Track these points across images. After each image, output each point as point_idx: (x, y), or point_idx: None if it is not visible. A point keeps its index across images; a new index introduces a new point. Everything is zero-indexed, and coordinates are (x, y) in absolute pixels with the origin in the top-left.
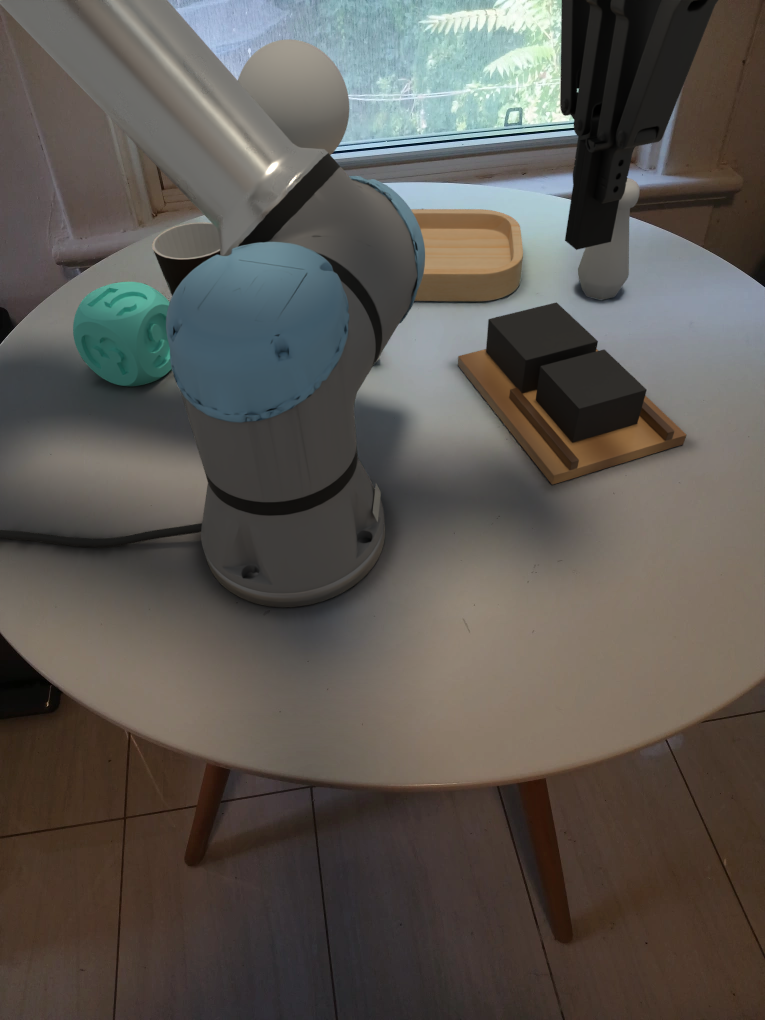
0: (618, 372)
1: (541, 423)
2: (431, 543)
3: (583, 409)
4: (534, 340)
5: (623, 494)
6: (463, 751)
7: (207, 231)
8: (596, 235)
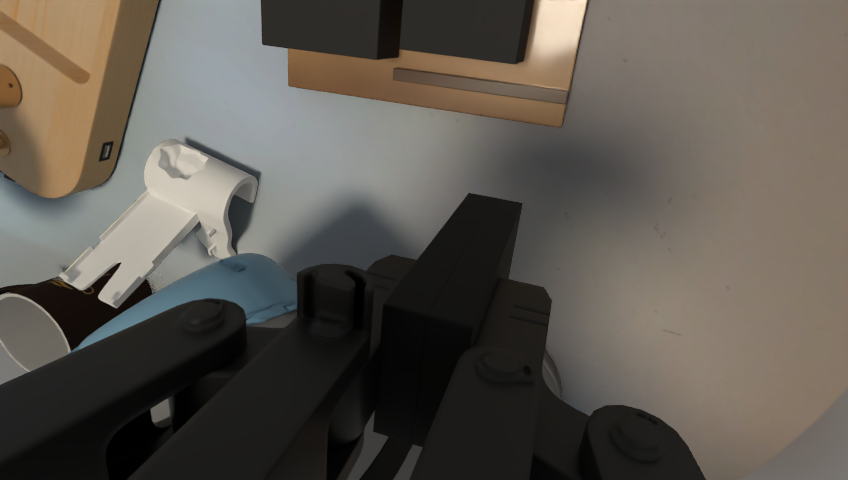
0: None
1: (477, 88)
2: (556, 295)
3: (517, 55)
4: (338, 12)
5: (635, 49)
6: (785, 415)
7: (6, 303)
8: (510, 256)
